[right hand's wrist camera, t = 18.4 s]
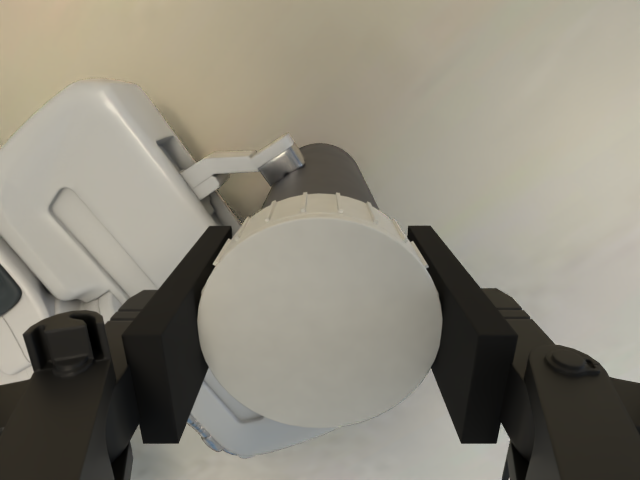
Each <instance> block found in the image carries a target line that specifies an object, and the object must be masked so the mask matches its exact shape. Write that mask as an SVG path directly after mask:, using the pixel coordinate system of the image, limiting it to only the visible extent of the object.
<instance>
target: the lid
mask: <svg viewBox="0 0 640 480" xmlns="http://www.w3.org/2000/svg"><path fill="white" fill-rule="evenodd" d="M213 265H215V268H214V270H213V271H212V273H211V275H210V276H209V278H208V280H207V282H206V284H205V286H204V287H203V289H202V292H201V294H202V295H201V299H200V303H199V307H198V317H197V325H198V334H199V341H200V347H201V350H202V353H203V356H204V358H205V361H206V363H207V365H208V367H209V368H210V370H211V372H212V374H213V375H214V377H215V378H216V379H217V381H218V382H219V383H220V385H221V386H222V387H223V388H224V389H225V390H226V391H227V392H228V393H229V394H230V395H231V396H232V397H233V398H235V399H236V400H237V401H238V402H240V403H241V404H242V405H244V406H245V407H247V408H249V409H250V410H252V411H254V412H256V413H258V414H260V415H262V416H264V417H266V418H269V419H271V420H274V421H277V422H280V423H284V424H288V425H292V426H298V427H305V428H335V427H342V426H348V425H352V424H356V423H360V422H363V421H366V420H369V419H371V418H374V417H376V416H378V415H380V414H382V413H384V412H386V411H388V410H390V409H391V408H393V407H394V406H396V405H397V404H399V403H400V402H402V401H403V400H404V399H405V398H406V397H407V396H409V395H410V394H411V393H412V392H413V391H414V390H415V389H416V388H417V387H418V385H419V384H420V383H421V382H422V380H423V379H424V378H425V376H426V375H427V373H428V372H429V370H430V368H431V366H432V364H433V362H434V360H435V358H436V355H437V352H438V349H439V346H440V339H441V331H442V321H443V317H442V309H441V303H440V299H439V293H438V291H437V289H436V287H435V285H434V283H433V280H432V278H431V276H430V275H429V273H428V271H427V270H426V268H428V267H429V266H428V265H427V263H426V261H425V260H424V258H423V256H422V255H421V253H420V252H419V250H418V248H417V247H416V245H415V243H414V242H413V241H412V242H410V241H409V240H408V238H407V236H406V235H405V233H404V232H403V231H402V229H401V228H400V226H399V224H398V223H397V221H396V220H395V219H394V218H393V219H392V220H391V219H390V218H389V217H388V216H386V215H385V214H384V213H382V212H381V211H379V210H377V209H376V208H374V207H372V205H371V203H370V202H368V201H367V203H364V202H362V201H359V200H356V199H353V198H350V197H346V196H340V193H337V192H336V195H335V194H320V193H318V194H307V192H303V195H299V196H294V197H290V198H287V199H284V200H281V201H278V202H276V200H274V201H272V203H271V205H270V206H268V207H266V208H264V209H262V210H261V211H259V212H258V213H256V214H255V215H253V216H252V217H251V218H250V217H249V216H248V217H247V218H246V219H245V221H244V222H243V224H242V226H241V227H240V229H239V230H238V231H237V232H236V233H235V235H234V236H233V238H232V239H231V240H230V239H228V240H227V242H226V243H225V245H224V246H223V248H222V250H221V251H220V253H219V255H218V256H217V258H216V260H215V261H214V263H213Z"/></svg>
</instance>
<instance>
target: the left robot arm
mask: <svg viewBox="0 0 640 480" xmlns="http://www.w3.org/2000/svg"><path fill="white" fill-rule="evenodd" d="M305 161H306V160H305V158H304V156H303V155H302V153H301V151H300V150H299V148H298V147H297V145H296V143H295V142H294V140H293V138H292V137H291V135H290V134H289V132H288V133H286V134H285V135H283V136H281V137H280V138H278V139H277V140H275V141H274V142H272V143H271V144H269V145H268V146H266V147H264V148H263V149H261V150H260V151H258V152H256V150H246V151H215V152H213V153H211V154H209V155H208V156H206V157H204V158H203V159H201V160H200V161H198V162H197V163H196V161H195V160H194V159H193V157H192V156H191V155H190V153H189V152H188V150H187V149H186V148H185V146H184V145H183V144H182V142H181V141H180V139H179V138H178V137H177V135H176V134H175V133H174V131H173V130H172V129H171V127H170V126H169V124H168V123H167V122H166V120H165V119H164V118H163V116H162V115H161V114H160V112H159V111H158V109H157V108H156V107H155V105H154V104H153V103H152V101H151V100H150V98H149V97H148V96H147V94H146V93H145V92H144V91H143V89H142V88H141V87H140V86H138V85H137V84H134V83H131V82H126V81H121V80H116V79H109V78H88V79H82V80H79V81H76V82H74V83H72V84H70V85H68V86H67V87H65V88H64V89H63V90H61V91H60V92H58V93H57V94H56V95H55V96H53V97H52V98H51V99H50V100H49V101H47V102H46V103H45V104H44V105H43V106H42V107H41V108H39V109H38V110H37V111H36V112H35V113H34V114H33V115H32V116H31V117H30V118H29V119H28V120H27V121H26V122H25V123H23V125H22V126H21V127H20V128H19V129H18V130H17V131H16V132H15V133H14V134H13V135H12V136H11V137H10V138H9V139H8V140H7V141H6V143H5V144H4V145H3V146H2V147H1V148H0V385H4V384H9V383H14V382H19V381H24V380H28V379H30V378H31V376H32V374H33V373H34V371H33V368H32V364H31V361H30V358H29V355H28V351H27V348H26V345H25V341H24V338H23V335H22V334H23V333H24V332H25V331H26V330H27V329H28V328H29V327H30V326H32V325H34V324H36V323H37V322H39V321H41V320H43V319H45V318H48V317H51V316H53V315H56V314H60V313H64V312H69V311H76V310H89V311H95V312H98V313H99V314H100V315H102V316H103V320H104V324H105V323H106V322H107V321H110V318H111V317H112V316H113V315H114V314H115V312H118V309H119V308H120V307H121V306H122V305H123V304H124V303H125V302H126V300H127V299H129V298H130V297H132V296H134V295H135V294H137V293H139V292H141V291H142V290H158V289H159V288H160V287H161V285H162V284H163V283H164V282H165V280H166V279H167V278H168V277H169V275H170V274H171V273H172V272H173V270H174V269H175V268H176V267H177V265H178V264H179V263H180V262H181V260H182V259H183V258H184V257H185V255H186V254H187V253H188V252H189V251H190V249H191V248H192V247H193V246H194V244H195V243H196V242H197V241H198V239H199V238H200V237H201V236H202V234H203V233H204V232H205V231H206V229H207V228H208V227H209V226H231V227H232V238H233V236H234V235H235V233H236V232H237V231H238V230H239V229H240V227H241V226H242V224H241V223H240V221H239V220H238V219H237V217H236V216H235V215H234V213H233V212H232V210H231V209H230V208H229V206H228V205H227V204H226V202H225V201H224V200H223V198H222V197H221V195H220V194H219V193H218V191H217V189H218V188H220V187H221V186H222V185H223V184H224V183H225V182H226V181H227V180H228V179H229V178H230V174H229V173H245V172H259V171H260V172H261V174H262V175H263V176H264V178H265V179H266V181H267V182H268V183H269V185H270V186H272V185H274V184H276V183H277V182H279V181H280V180H281V179H283V178H284V176H285V173H292V172H294V171H296V170H298V169H299V168H301V167H302V166H303V165H304V164H305ZM187 424H188V425H189V426H191V427H192V428H193V429H195V431H196V432H198V434H199V435H200V436H201V438H202V440H203V441H204V443H205V444H206V445H207V446H208V447H210V448H211V449H212V450H214V451H216V452H220V451H222V450H223V451H225V452H227V453H229V454H232V455H237V456H239V457H240V458H243V459H244V458H250V457H253V456H256V455H261V454H266V453H270V452H274V451H277V450H280V449H284V448H287V447H290V446H293V445H296V444H299V443H302V442H305V441H308V440H311V439H313V438H316V437H318V436H321V435H324V434H326V433H328V432H331V431H333V430H335V429H337V428H339V427H335V428H305V427H298V426H292V425H288V424H284V423H280V422H277V421H274V420H271V419H269V418H266V417H264V416H262V415H260V414H258V413H256V412H254V411H252V410H250V409H249V408H247V407H245V406H244V405H242V404H241V403H240V402H238V401H237V400H236V399H235V398H233V397H232V396H231V395H230V394H229V393H228V392H227V391H226V390H225V389H224V388H223V387H222V386H221V385H220V383H219V382H218V381H217V379H216V378H215V377H214V375H213V374H212V372H211V370H210V368H208V371H207V373H206V376H205V378H204V381H203V383H202V386H201V388H200V391H199V393H198V396H197V398H196V401H195V403H194V406H193V408H192V411H191V413H190V416H189V418H188V421H187Z"/></svg>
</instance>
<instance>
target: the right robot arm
mask: <svg viewBox="0 0 640 480" xmlns="http://www.w3.org/2000/svg"><path fill="white" fill-rule="evenodd" d="M407 238H408V240H409V241H410V242H412V241H413V242H414V243H415V245H416V247H417V248H418V250H419V252H420V253H421V255H422V256H423V258H424V260H425V261H426V263H427V265H428V266H429V267H428V268H426V270H427V271H428V273H429V275H430V276H431V278H432V280H433V283H434V285H435V287H436V289H437V291H438V293H439V299H440V303H441V309H442V317H443V321H442V331H441V339H440V346H439V349H438V352H437V355H436V358H435V360H434V362H433V364H432V366H431V369H432V371H433V374H434V376H435V379H436V381H437V384H438V386H439V389H440V391H441V394H442V396H443V399H444V402H445V404H446V407H447V409H448V412H449V414H450V417H451V419H452V422H453V424H454V427H455V429H456V432H457V434H458V437H459V439H460V442H461V444H496V443H497V438H498V433H499V429H500V424H501V423H502V425H503V427H504V428H505V430H506V432H507V434H508V436H509V438H510V443H509V448H508V452H507V457H506V462H505V466H504V471H503V475H502V480H508V479H509V477H510V480H640V383H636V382H631V381H626V380H621V379H616V378H611V377H609V376H608V374H607V372H606V370H605V369H604V368H603V367H602V366H601V365H600V363H599V362H597V361H596V360H594V359H593V358H591V357H590V356H588V355H587V354H584V353H582V352H580V351H577V350H575V349H572V348H568V347H565V346H561V345H555V344H554V343H553V341H552V340H551V339H550V338H549V337H548V336H547V335H546V334H545V333H544V332H543V331H542V330H541V328H540V327H539V326H538V325H537V324H536V323H535V322H534V321H533V320H532V319H530V316H529V315H528V314H527V313H526V312H525V311H524V310H522V308H521V307H520V306H519V304H518V303H517V302H516V301H515V300H514V299H513V298H512V297H510V296H509V295H507V294H505V293H503V292H502V291H500V290H498V289H496V288H480V287H479V286H478V284H477V283H476V282H475V281H474V279H473V278H472V277H471V276H470V274H469V273H468V272H467V271H466V270H465V268H464V267H463V266H462V265H461V263H460V262H459V261H458V260H457V258H456V257H455V256H454V255H453V253H452V252H451V251H450V250H449V248H448V247H447V246H446V245H445V243H444V242H443V241H442V240H441V238H440V237H439V236H438V235H437V233H436V232H435V231H434V230H433V228H432V227H431V226H408V236H407ZM228 239H230V240H231V239H232V227H231V226H209V227H208V228H207V229H206V231H205V232H204V233H203V234H202V236H201V237H200V238H199V239H198V241H197V242H196V243H195V244H194V246H193V247H192V248H191V249H190V251H189V252H188V253H187V254H186V255H185V257H184V258H183V259H182V260H181V262H180V263H179V264H178V265H177V267H176V268H175V269H174V270H173V272H172V273H171V274H170V275H169V277H168V278H167V279H166V280H165V282H164V283H163V284H162V285H161V287H160V288H159V289H158V290H142V291H141V292H139V293H137V294H135V295H134V296H132V297H130V298H129V299H127V300H126V302H125V303H124V304H123V305H122V306H121V307H120V308H119V309H118V312H115V314H114V315H113V316H112V317H111V318H110V321H107V322H106V323H105V324H104V320H103V316H102V315H100V314H99V313H98V312H95V311H89V310H76V311H69V312H64V313H60V314H56V315H53V316H51V317H48V318H45V319H43V320H41V321H39V322H37V323H36V324H34V325H32V326H30V327H29V328H28V329H27V330H26V331H25V332H24V333H23V334H22V335H23V338H24V341H25V345H26V348H27V351H28V355H29V358H30V361H31V364H32V368H33V371H34V373H33V374H32V376H31V378H30V379H28V380H24V381H19V382H14V383H9V384H4V385H0V480H130V478H131V470H132V463H133V454H132V448H131V443H130V439H131V438H132V436H133V434H134V432H135V430H136V428H137V426H138V425H140V430H141V435H142V440H143V444H179V441H180V439H181V436H182V434H183V431H184V429H185V426H186V423H187V421H188V418H189V416H190V413H191V411H192V408H193V406H194V403H195V401H196V398H197V396H198V393H199V391H200V388H201V386H202V383H203V381H204V378H205V376H206V373H207V371H208V368H209V367H208V365H207V363H206V361H205V358H204V356H203V353H202V350H201V347H200V341H199V334H198V325H197V317H198V307H199V303H200V299H201V295H202V294H201V292H202V289H203V287H204V286H205V284H206V282H207V280H208V278H209V276H210V275H211V273H212V271H213V270H214V268H215V265H213V263H214V261H215V260H216V258H217V256H218V255H219V253H220V251H221V250H222V248H223V246H224V245H225V243H226V242H227V240H228Z"/></svg>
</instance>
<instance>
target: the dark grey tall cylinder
mask: <svg viewBox="0 0 640 480" xmlns="http://www.w3.org/2000/svg"><path fill="white" fill-rule="evenodd" d="M299 150H300V151H301V153H302V155H303V156H304V158H305V160H306V161H305V164H304V165H303V166H302V167H301V168H299V169H298V170H296V171H294V172H292V173H285V176H284V178H283V179H281V180H280V181H279V182H277V183H276V184H274V185H273V186H272V188H271V190H270V192H269V194H268V196H267V198H266V200H265V202H264V204H263V206H262V208H261V210H262V209H264V208H266V207H268V206H270V205H271V203H272V201H274V200H276V202H278V201H281V200H284V199H287V198H290V197H294V196H299V195H303V192H307V194H318V193H320V194H335V195H336V192H337V193H340V196H346V197H350V198H353V199H356V200H359V201H362V202H364V203H367V201H368V202H370V203H371V205H372V207H374V208H376V209H377V210H379V208H378V206H377V204H376V202H375V200H374V198H373V196H372V194H371V192H370V190H369V188H368V186H367V184H366V182H365V180H364V178H363V176H362V174H361V172H360V170H359V168H358V166H357V164H356V162H355V161H354V160H353V158H352V157H351V156H350V155H349V154H348V153H346V152H345V151H344V150H342V149H340V148H338V147H336V146H333V145H329V144H322V143H318V144H310V145H307V146H304V147H302V148H300V149H299ZM261 210H260V211H261ZM379 211H380V210H379Z"/></svg>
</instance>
